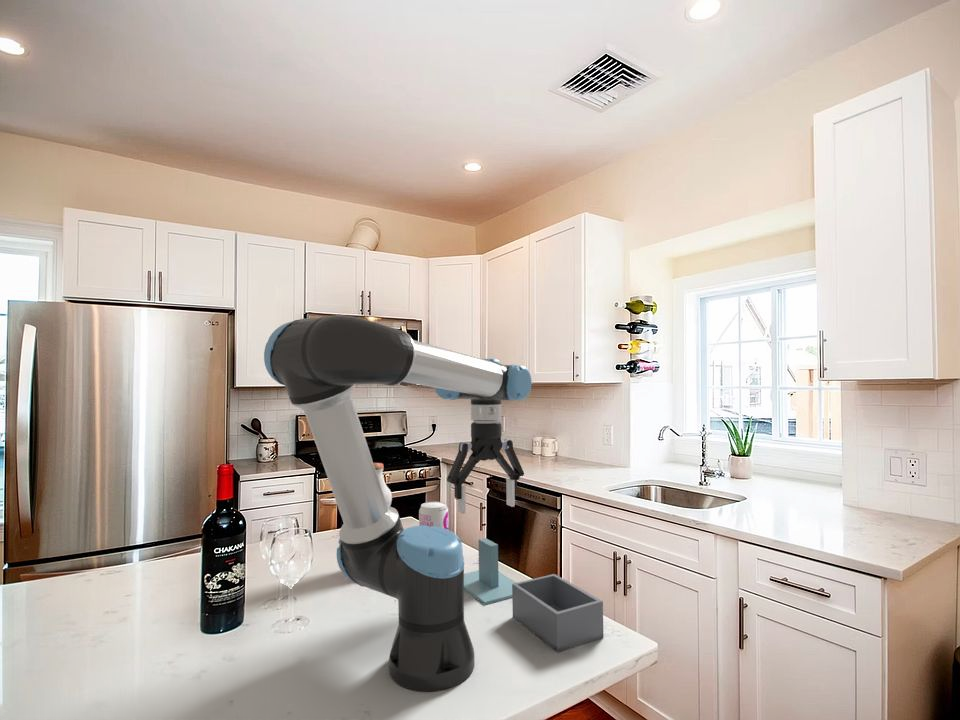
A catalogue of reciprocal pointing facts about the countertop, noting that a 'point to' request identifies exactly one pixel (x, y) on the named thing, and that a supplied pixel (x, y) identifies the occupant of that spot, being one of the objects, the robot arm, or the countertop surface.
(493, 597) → the lid
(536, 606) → the parts tub
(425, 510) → the supplement can
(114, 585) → the countertop surface
